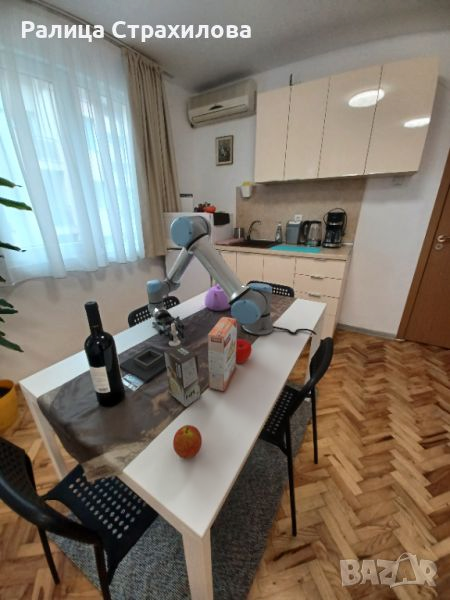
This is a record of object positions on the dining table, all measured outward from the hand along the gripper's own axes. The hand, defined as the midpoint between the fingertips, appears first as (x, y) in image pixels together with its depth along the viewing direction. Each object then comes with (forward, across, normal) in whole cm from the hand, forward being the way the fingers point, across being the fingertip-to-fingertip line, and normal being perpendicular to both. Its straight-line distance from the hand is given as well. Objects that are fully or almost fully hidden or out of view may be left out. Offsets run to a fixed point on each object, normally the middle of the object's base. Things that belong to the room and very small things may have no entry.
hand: (177, 337), depth 100 cm
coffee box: (+26, +7, -6) cm, 28 cm away
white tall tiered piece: (-5, 0, -6) cm, 8 cm away
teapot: (-32, -37, -6) cm, 49 cm away
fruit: (+45, +14, -6) cm, 48 cm away
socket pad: (+4, +13, -6) cm, 15 cm away
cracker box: (+25, -8, -6) cm, 27 cm away
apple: (+20, -18, -6) cm, 28 cm away
